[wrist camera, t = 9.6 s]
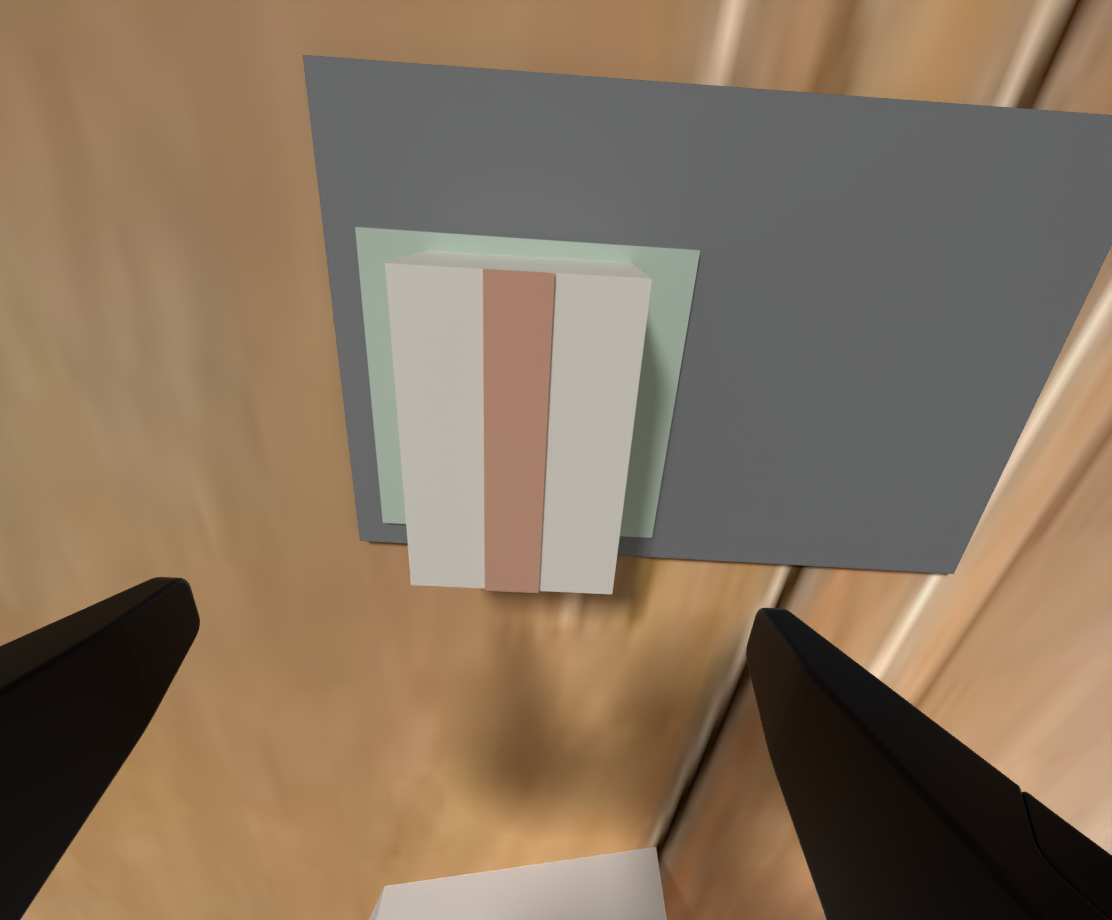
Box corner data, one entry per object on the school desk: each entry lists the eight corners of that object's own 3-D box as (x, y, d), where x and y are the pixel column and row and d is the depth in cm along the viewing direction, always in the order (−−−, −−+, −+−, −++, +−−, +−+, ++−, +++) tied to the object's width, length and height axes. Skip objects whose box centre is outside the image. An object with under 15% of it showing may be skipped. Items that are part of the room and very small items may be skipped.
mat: (1156, 122, 14) (1180, 118, 14) (946, 567, 21) (957, 577, 20) (309, 59, 14) (299, 52, 13) (363, 534, 20) (358, 543, 20)
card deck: (602, 522, 19) (612, 596, 16) (439, 514, 19) (410, 587, 16) (630, 262, 15) (652, 278, 12) (425, 250, 15) (383, 263, 12)
